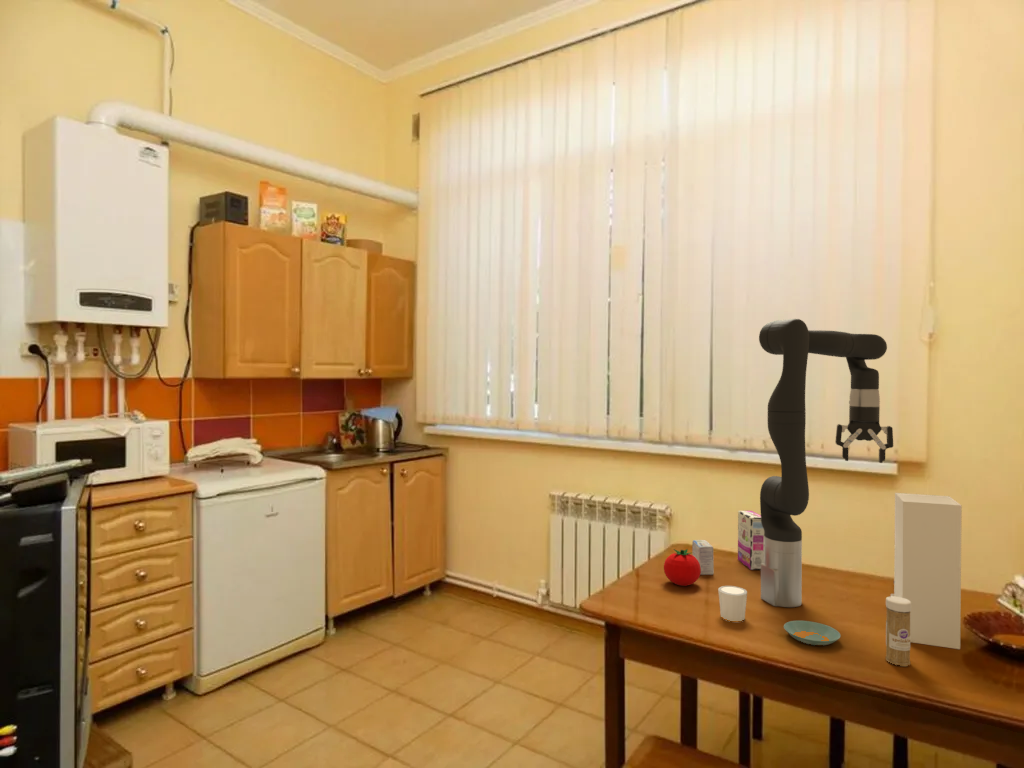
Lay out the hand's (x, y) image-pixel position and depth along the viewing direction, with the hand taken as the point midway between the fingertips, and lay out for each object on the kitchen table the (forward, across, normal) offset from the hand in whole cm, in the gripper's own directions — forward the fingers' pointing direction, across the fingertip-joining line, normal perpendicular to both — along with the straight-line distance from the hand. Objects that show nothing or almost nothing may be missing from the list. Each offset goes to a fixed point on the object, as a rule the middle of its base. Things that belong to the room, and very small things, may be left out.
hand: (863, 461), depth 177 cm
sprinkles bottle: (+36, +1, -50) cm, 62 cm away
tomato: (+37, -48, -18) cm, 63 cm away
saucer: (+37, -15, -44) cm, 60 cm away
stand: (+36, +10, -32) cm, 49 cm away
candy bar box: (+36, -30, +9) cm, 48 cm away
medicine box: (+36, -44, -3) cm, 57 cm away
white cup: (+37, -33, -38) cm, 62 cm away
